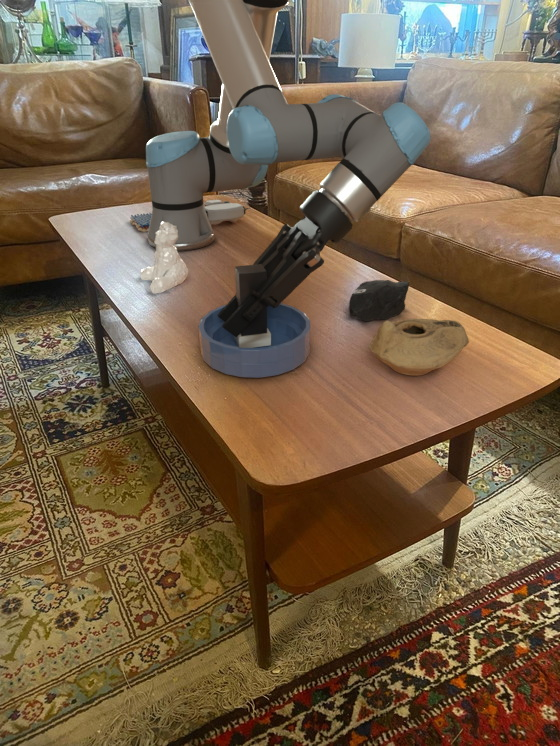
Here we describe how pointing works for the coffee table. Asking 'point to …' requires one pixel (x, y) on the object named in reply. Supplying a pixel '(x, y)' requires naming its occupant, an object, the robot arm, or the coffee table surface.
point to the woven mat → (141, 221)
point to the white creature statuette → (165, 261)
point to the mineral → (378, 299)
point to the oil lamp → (418, 344)
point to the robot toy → (223, 211)
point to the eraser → (245, 282)
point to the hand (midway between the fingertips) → (226, 325)
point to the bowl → (259, 361)
